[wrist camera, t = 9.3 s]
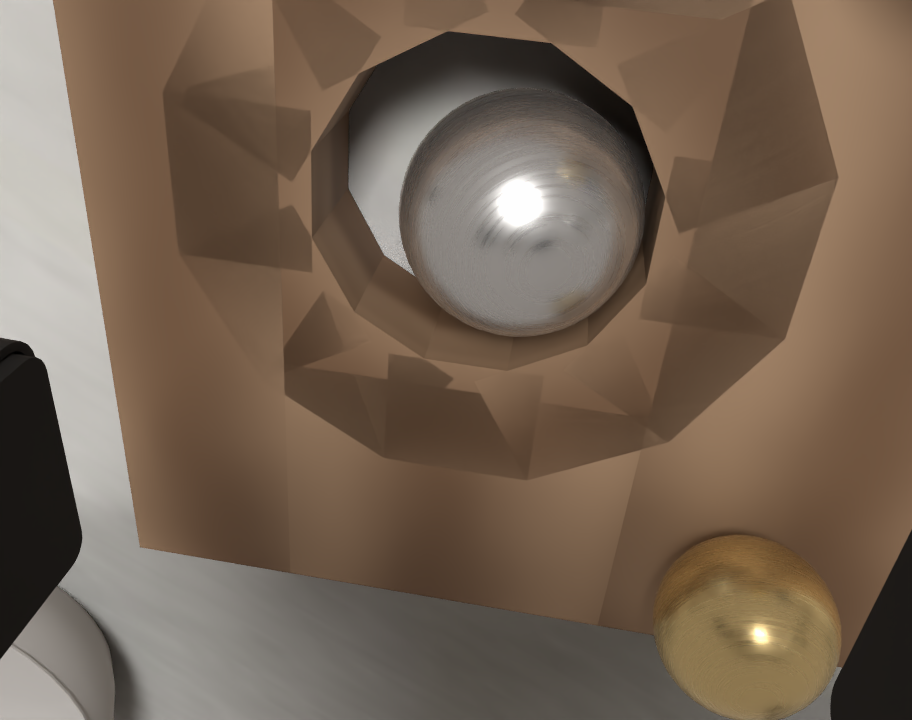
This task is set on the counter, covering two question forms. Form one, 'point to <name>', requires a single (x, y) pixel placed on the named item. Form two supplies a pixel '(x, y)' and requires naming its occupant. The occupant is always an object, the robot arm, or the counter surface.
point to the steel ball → (521, 212)
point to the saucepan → (58, 667)
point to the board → (496, 356)
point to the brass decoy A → (747, 628)
